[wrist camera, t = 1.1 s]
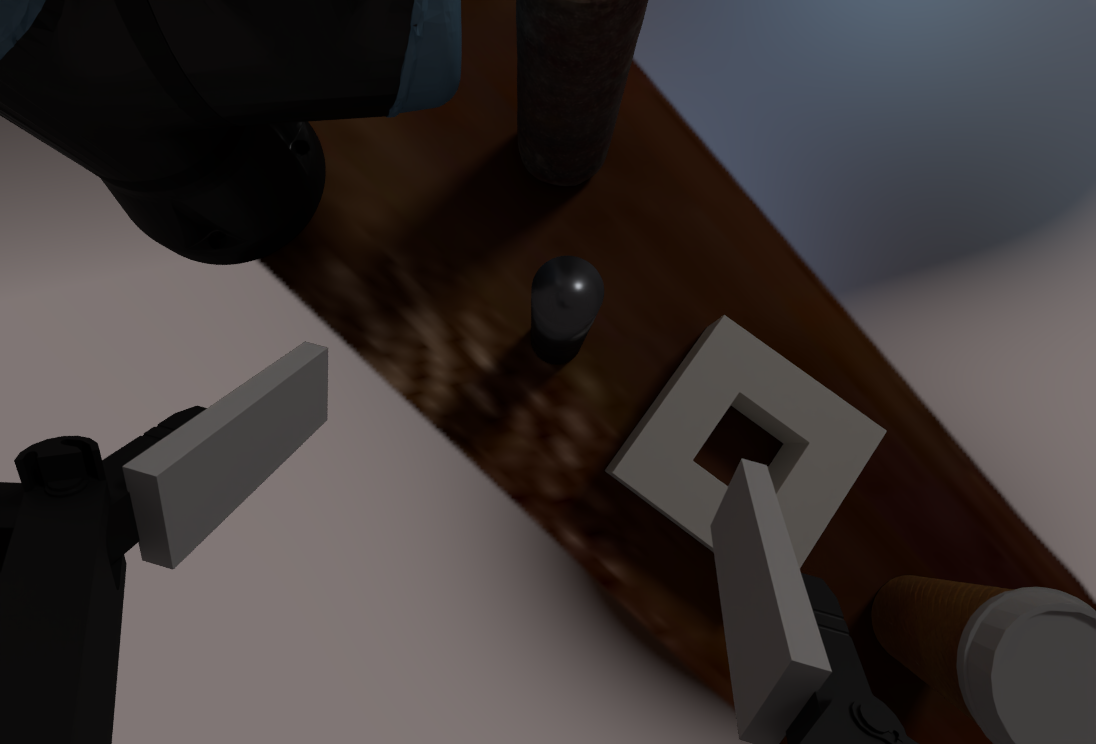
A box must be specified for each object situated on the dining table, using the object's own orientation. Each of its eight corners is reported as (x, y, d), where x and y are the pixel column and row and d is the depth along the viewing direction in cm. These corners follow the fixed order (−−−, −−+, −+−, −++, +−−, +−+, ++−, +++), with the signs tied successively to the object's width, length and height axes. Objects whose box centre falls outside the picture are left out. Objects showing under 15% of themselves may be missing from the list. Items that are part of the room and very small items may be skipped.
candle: (608, 195, 45) (671, -10, 25) (519, 197, 44) (511, -9, 25) (603, 110, 46) (660, -151, 26) (516, 111, 45) (506, -151, 26)
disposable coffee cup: (830, 576, 41) (953, 627, 29) (943, 535, 41) (1109, 569, 30) (878, 706, 39) (1028, 814, 28) (995, 662, 40) (1189, 749, 28)
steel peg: (520, 344, 43) (516, 297, 30) (551, 304, 43) (560, 241, 30) (561, 374, 42) (575, 340, 29) (591, 334, 43) (618, 283, 30)
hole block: (604, 470, 41) (612, 472, 37) (706, 327, 43) (724, 314, 39) (756, 584, 40) (780, 598, 36) (853, 433, 42) (886, 431, 38)
